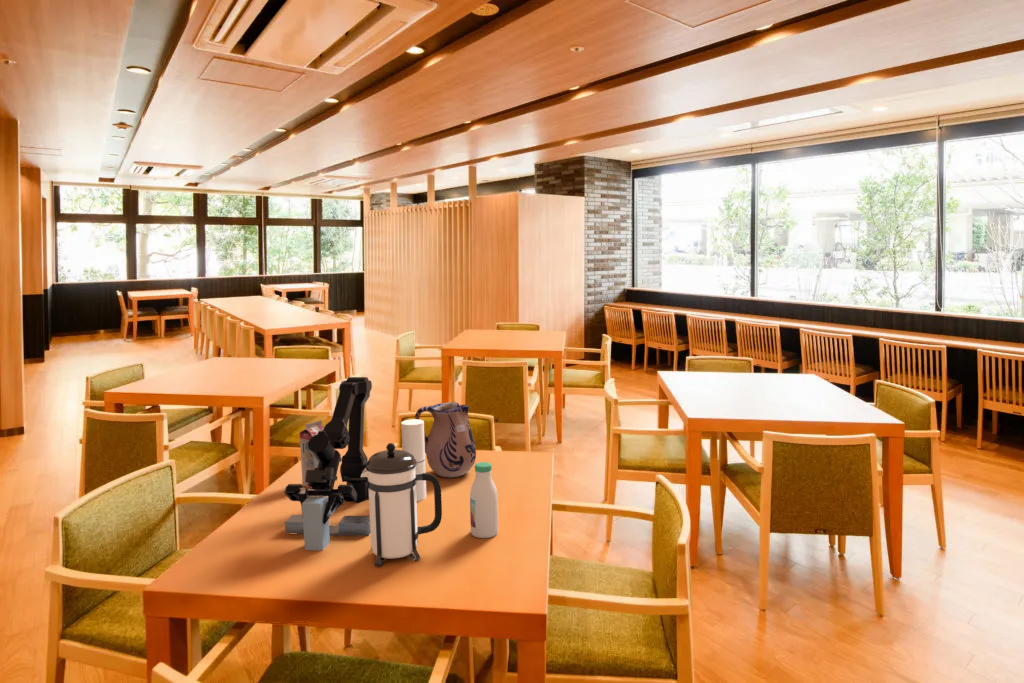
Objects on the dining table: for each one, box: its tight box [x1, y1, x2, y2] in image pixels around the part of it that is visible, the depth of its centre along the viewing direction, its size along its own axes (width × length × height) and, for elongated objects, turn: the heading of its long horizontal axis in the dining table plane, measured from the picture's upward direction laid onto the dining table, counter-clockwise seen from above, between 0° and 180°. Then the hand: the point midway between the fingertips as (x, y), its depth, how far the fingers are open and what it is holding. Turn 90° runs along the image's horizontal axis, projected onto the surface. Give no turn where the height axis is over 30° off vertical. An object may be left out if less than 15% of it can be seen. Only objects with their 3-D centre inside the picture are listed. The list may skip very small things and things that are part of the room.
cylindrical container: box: [400, 418, 427, 502], centre depth 204 cm, size 7×7×25 cm
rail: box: [284, 514, 371, 537], centre depth 181 cm, size 5×24×4 cm, turn 85°
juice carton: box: [299, 420, 325, 489], centre depth 218 cm, size 7×7×22 cm
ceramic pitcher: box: [414, 401, 477, 479], centre depth 226 cm, size 18×21×25 cm
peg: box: [301, 496, 331, 551], centre depth 171 cm, size 5×5×13 cm
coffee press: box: [361, 442, 443, 568], centre depth 165 cm, size 17×16×30 cm
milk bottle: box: [469, 461, 499, 539], centre depth 177 cm, size 8×8×20 cm
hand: (314, 523), depth 169 cm, fingers closed on peg, 5 cm apart
